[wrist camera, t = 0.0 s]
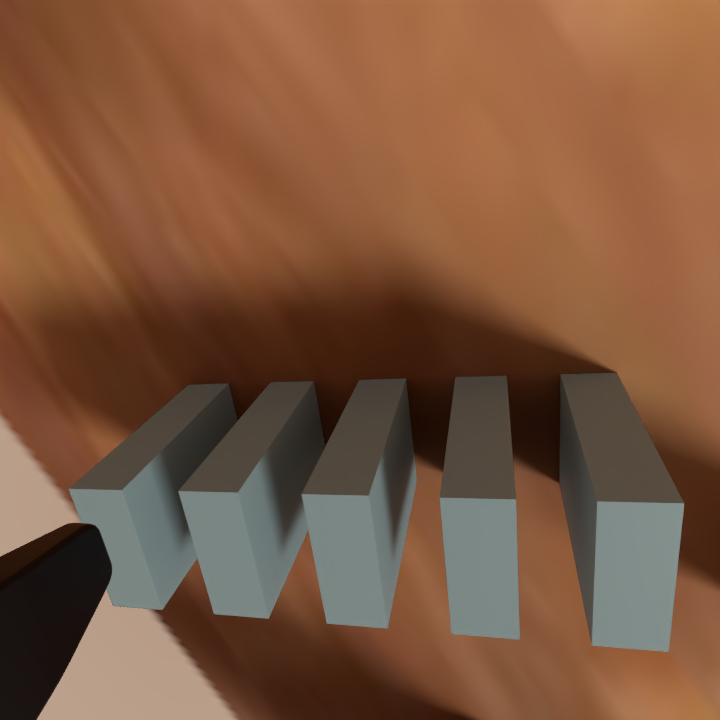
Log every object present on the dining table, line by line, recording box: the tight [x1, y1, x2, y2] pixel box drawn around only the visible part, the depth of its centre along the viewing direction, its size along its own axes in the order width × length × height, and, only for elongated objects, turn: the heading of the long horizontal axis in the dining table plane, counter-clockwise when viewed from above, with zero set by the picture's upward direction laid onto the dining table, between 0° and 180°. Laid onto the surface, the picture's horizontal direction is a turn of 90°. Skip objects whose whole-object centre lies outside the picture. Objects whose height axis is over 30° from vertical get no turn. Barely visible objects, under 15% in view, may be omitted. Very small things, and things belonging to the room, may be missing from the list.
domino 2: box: [178, 381, 325, 619], centre depth 21 cm, size 2×5×8 cm, turn 8°
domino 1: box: [69, 383, 237, 610], centre depth 22 cm, size 2×5×8 cm, turn 8°
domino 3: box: [302, 378, 417, 628], centre depth 20 cm, size 2×5×8 cm, turn 8°
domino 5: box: [560, 373, 684, 652], centre depth 18 cm, size 2×5×8 cm, turn 7°
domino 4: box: [440, 376, 520, 640], centre depth 19 cm, size 2×5×8 cm, turn 8°
